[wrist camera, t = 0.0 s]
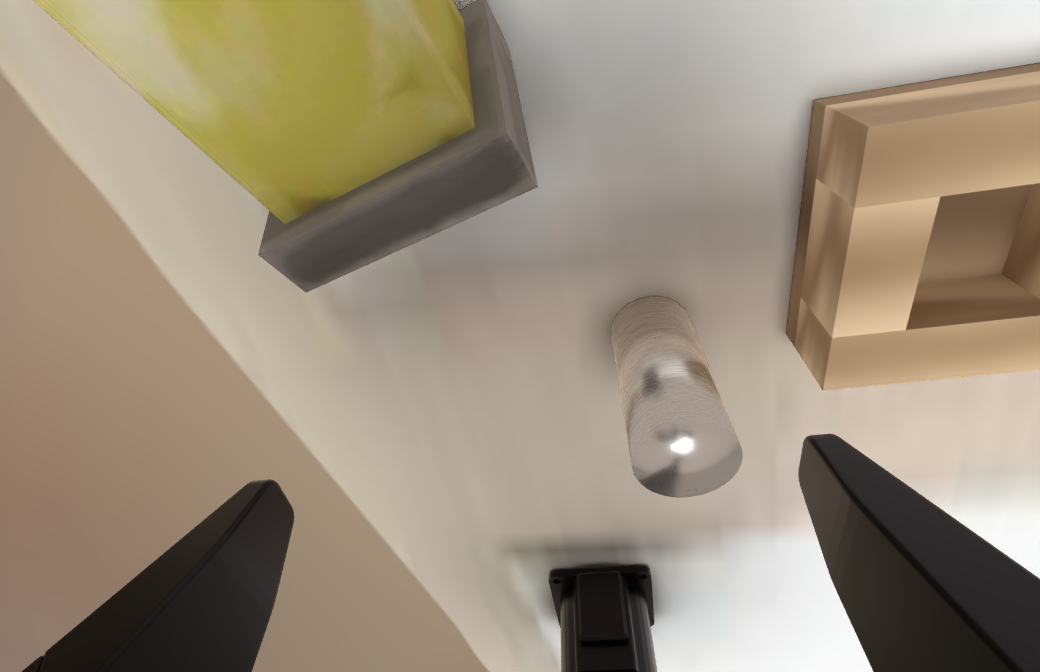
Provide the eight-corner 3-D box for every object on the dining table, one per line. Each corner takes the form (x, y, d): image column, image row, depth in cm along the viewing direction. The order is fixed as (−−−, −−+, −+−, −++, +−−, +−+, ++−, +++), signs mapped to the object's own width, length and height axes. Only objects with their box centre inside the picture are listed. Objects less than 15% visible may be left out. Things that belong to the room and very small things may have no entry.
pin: (690, 357, 26) (739, 493, 19) (613, 366, 26) (634, 500, 19) (691, 291, 24) (745, 416, 17) (607, 301, 24) (629, 427, 17)
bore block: (1031, 306, 23) (1111, 362, 20) (786, 333, 25) (822, 390, 21) (1136, 47, 18) (1269, 64, 15) (813, 99, 19) (868, 126, 16)
